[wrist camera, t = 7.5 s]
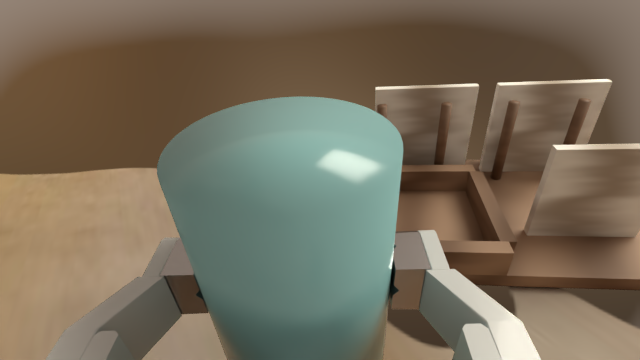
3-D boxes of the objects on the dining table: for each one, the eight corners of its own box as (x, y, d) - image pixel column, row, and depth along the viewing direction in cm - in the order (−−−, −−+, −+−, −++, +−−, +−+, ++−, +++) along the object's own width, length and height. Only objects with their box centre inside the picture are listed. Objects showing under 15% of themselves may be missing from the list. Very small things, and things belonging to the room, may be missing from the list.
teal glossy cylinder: (219, 438, 12) (101, 217, 6) (258, 299, 17) (209, 97, 11) (385, 455, 12) (418, 226, 6) (378, 306, 16) (394, 95, 10)
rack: (356, 281, 24) (354, 171, 19) (358, 169, 36) (357, 81, 31) (684, 291, 22) (781, 168, 17) (573, 167, 33) (611, 72, 28)
